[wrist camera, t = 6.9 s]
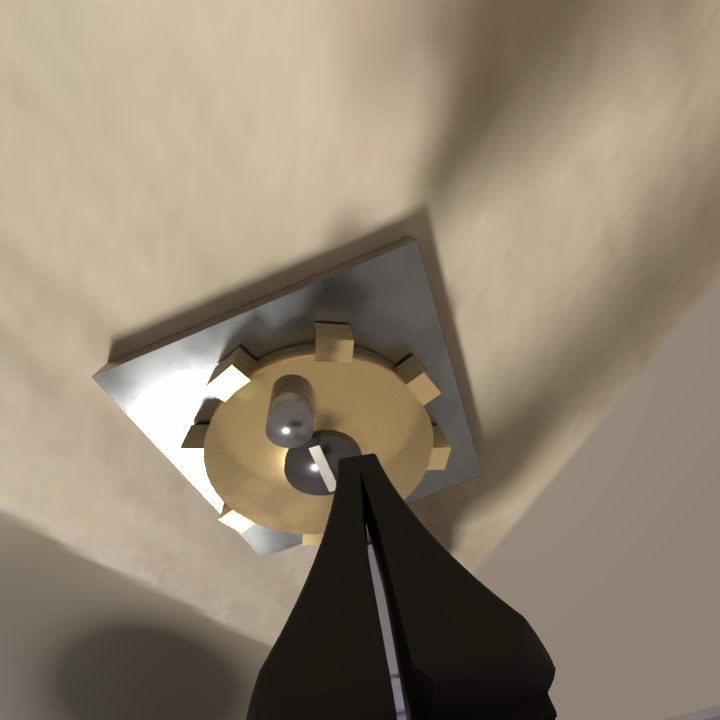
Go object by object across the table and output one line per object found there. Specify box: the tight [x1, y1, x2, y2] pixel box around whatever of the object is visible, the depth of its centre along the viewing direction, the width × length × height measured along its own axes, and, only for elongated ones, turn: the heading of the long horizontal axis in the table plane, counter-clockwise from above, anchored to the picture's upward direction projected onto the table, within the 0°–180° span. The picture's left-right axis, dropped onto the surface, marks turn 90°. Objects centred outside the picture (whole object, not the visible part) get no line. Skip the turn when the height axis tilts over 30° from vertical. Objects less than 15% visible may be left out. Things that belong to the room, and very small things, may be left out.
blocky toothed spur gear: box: [179, 323, 451, 545], centre depth 19 cm, size 15×15×5 cm
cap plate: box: [92, 236, 482, 558], centre depth 22 cm, size 18×18×2 cm
